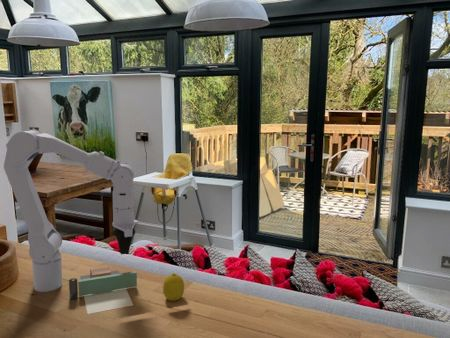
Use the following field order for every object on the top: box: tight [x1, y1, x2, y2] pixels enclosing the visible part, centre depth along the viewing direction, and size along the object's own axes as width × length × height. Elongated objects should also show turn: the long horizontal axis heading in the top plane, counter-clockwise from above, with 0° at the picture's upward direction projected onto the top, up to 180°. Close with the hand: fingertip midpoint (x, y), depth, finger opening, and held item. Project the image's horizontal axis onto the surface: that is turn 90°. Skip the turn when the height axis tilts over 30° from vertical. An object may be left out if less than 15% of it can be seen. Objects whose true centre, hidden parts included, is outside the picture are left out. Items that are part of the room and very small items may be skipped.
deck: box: [79, 270, 134, 315], centre depth 103 cm, size 22×11×1 cm, turn 25°
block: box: [89, 265, 112, 278], centre depth 107 cm, size 5×5×4 cm
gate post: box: [68, 277, 79, 301], centre depth 98 cm, size 2×2×6 cm
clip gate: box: [77, 270, 138, 297], centre depth 102 cm, size 1×15×4 cm, turn 115°
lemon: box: [162, 272, 185, 302], centre depth 99 cm, size 6×6×8 cm
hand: (124, 253), depth 108 cm, fingers closed
